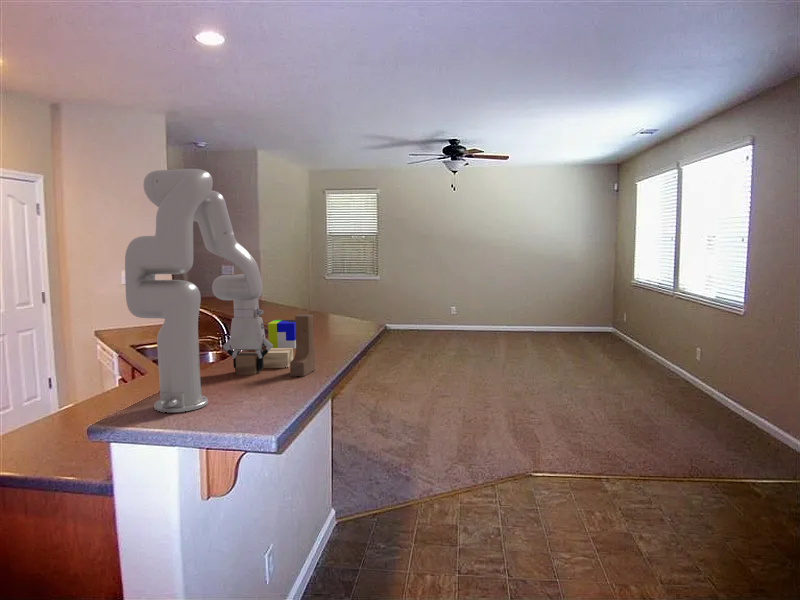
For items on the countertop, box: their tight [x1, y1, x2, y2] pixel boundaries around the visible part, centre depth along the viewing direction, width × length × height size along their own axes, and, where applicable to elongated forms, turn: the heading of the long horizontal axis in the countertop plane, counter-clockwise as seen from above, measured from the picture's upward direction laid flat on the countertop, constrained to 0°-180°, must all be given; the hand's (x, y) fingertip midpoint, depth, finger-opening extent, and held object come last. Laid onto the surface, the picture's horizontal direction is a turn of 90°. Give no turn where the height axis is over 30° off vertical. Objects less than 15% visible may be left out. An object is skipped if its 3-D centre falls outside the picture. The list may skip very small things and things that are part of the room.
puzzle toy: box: [267, 319, 296, 350], centre depth 216 cm, size 10×10×10 cm
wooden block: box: [289, 313, 316, 378], centre depth 171 cm, size 9×4×18 cm, turn 166°
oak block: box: [263, 348, 294, 369], centre depth 184 cm, size 8×8×5 cm
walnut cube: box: [235, 351, 262, 376], centre depth 174 cm, size 6×6×6 cm
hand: (248, 369), depth 174 cm, fingers open, 6 cm apart
